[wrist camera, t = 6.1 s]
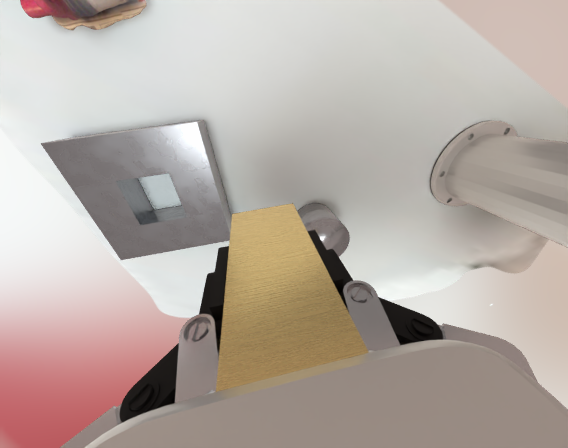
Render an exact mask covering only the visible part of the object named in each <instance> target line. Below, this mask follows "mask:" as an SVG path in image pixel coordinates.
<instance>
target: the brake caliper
mask: <svg viewBox="0 0 568 448" xmlns="http://www.w3.org/2000/svg"><path fill="white" fill-rule="evenodd" d="M20 1H21V5H22V8H23V9H24V11H25V12H26V13H27V14H28V15H29V16H30V17H32V18H41V17H45V16H50V15H52V17H53V18H54V20H55V21H56V22H57V23H58V24H59V25H61V26H63V27H64V28H66V29H69V30H74V29H75V28H76V27H77V26H80V25H84V26H86V27H89V28H91V29H95V30H98V29H102V28H106V27H108V26H110V25H112V24H114V22H116V21H120V20H122V19H129V18H132V17H134V16H136V15H138V14H140V13H141V11H142V10H143V9H144V8H145V7H146V1H145V0H20Z"/></svg>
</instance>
